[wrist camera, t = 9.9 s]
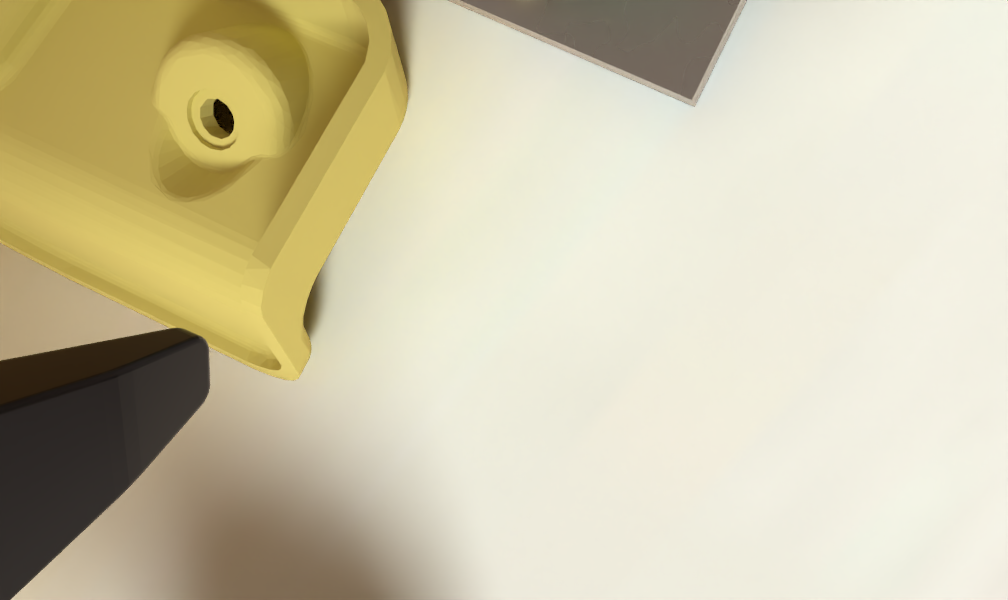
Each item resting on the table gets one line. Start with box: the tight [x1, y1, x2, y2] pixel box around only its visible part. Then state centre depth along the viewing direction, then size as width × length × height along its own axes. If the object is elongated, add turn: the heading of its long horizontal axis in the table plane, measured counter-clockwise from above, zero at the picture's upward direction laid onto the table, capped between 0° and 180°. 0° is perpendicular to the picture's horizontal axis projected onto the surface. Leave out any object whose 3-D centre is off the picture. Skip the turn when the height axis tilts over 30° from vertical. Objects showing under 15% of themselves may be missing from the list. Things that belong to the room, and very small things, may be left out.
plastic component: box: [0, 0, 408, 380], centre depth 24 cm, size 20×7×10 cm
